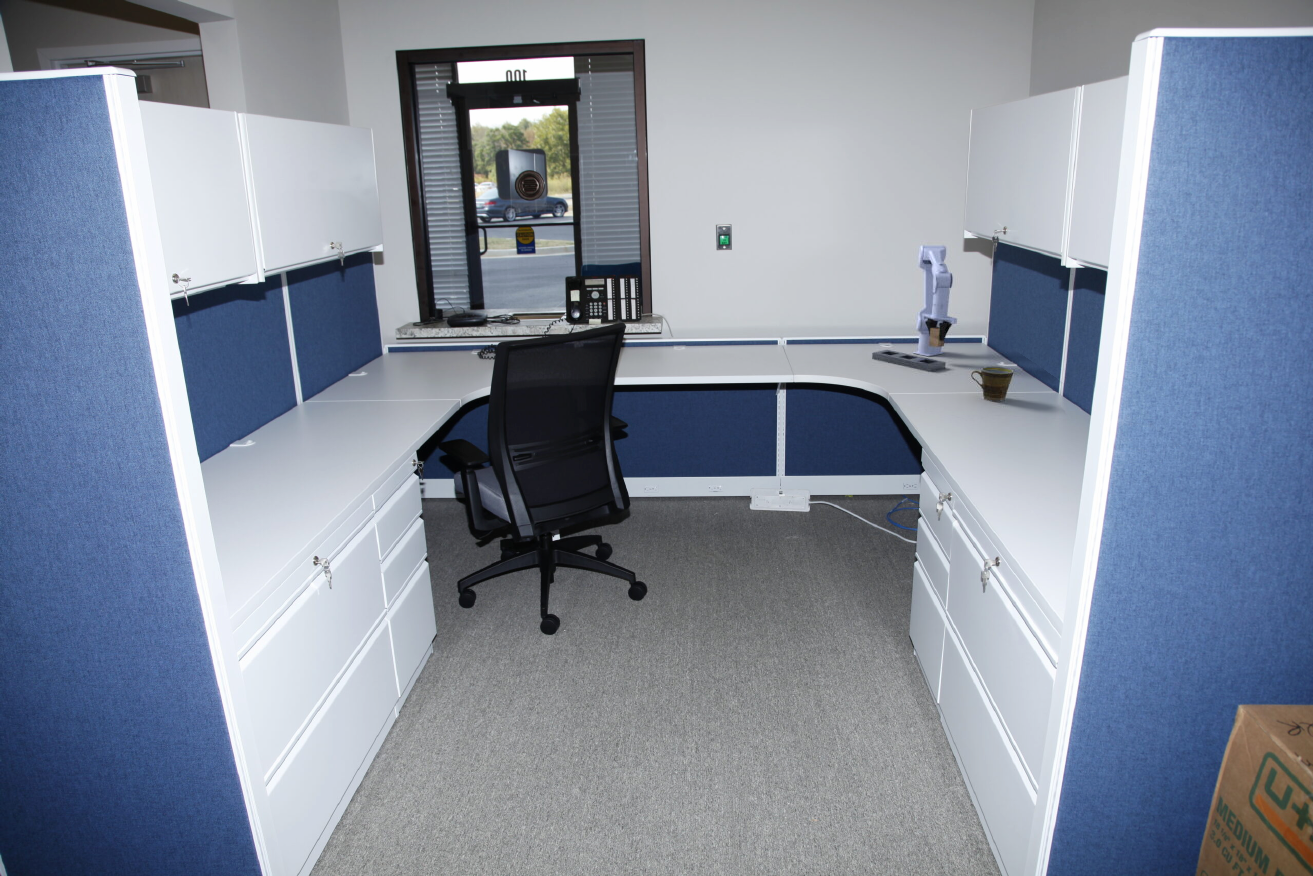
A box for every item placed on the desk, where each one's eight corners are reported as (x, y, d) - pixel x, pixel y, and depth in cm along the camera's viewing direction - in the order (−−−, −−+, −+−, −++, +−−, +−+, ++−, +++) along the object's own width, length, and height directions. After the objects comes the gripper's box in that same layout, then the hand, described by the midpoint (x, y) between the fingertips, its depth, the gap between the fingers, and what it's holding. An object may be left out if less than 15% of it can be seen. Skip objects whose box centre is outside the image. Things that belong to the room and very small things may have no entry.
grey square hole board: (886, 355, 346) (887, 349, 345) (945, 368, 324) (945, 362, 323) (872, 358, 341) (872, 352, 340) (930, 371, 319) (931, 365, 318)
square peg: (935, 344, 333) (936, 326, 331) (943, 345, 330) (945, 328, 328) (928, 345, 331) (930, 327, 329) (937, 347, 328) (939, 329, 326)
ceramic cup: (1007, 395, 287) (1010, 367, 284) (1012, 403, 278) (1015, 374, 274) (966, 393, 290) (970, 365, 286) (970, 401, 280) (973, 372, 277)
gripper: (918, 303, 329) (915, 337, 333) (950, 308, 318) (946, 343, 322) (929, 301, 333) (926, 335, 337) (961, 306, 322) (957, 341, 326)
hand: (937, 339), depth 330 cm, fingers closed on square peg, 4 cm apart
